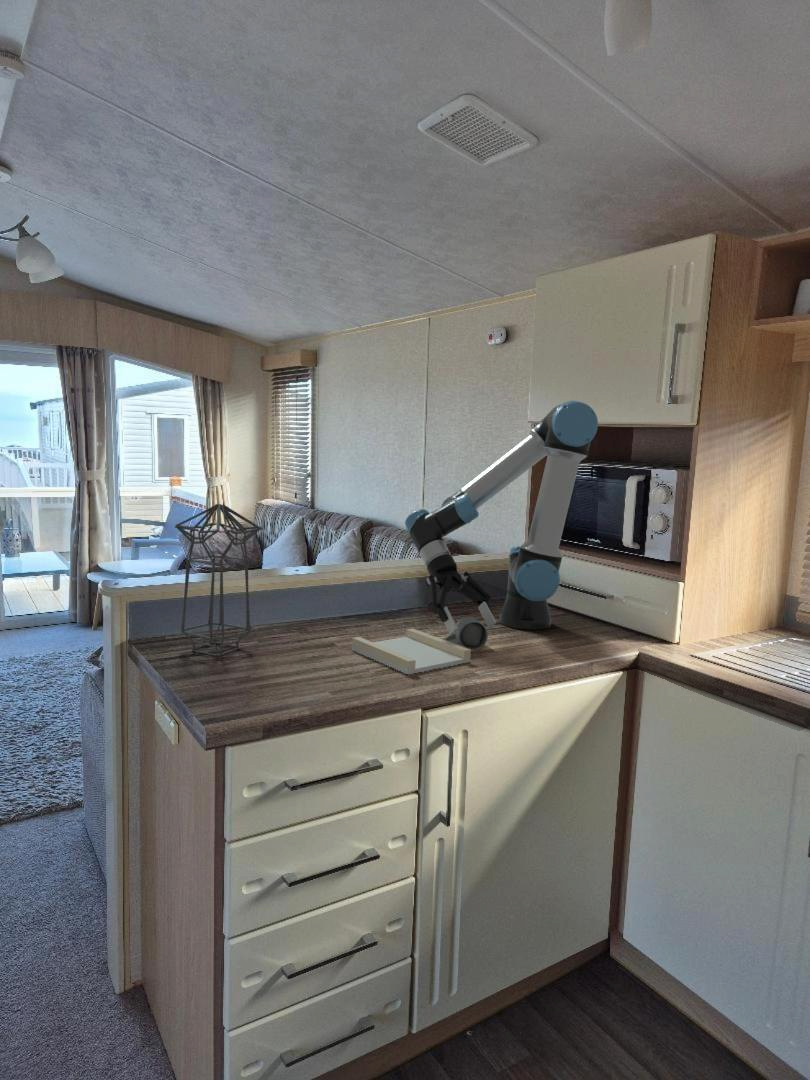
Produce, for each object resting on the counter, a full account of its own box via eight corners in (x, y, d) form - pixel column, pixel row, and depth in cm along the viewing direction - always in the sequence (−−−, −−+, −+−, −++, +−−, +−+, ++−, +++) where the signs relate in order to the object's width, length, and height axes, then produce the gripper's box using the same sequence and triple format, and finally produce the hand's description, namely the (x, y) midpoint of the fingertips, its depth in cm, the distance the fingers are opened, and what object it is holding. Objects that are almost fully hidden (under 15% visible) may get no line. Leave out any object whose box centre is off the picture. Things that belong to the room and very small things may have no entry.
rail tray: (411, 640, 189) (412, 628, 188) (469, 662, 172) (470, 649, 171) (352, 650, 177) (352, 637, 176) (407, 675, 160) (408, 661, 159)
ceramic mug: (479, 642, 190) (480, 613, 189) (487, 651, 182) (488, 621, 181) (440, 642, 189) (441, 613, 188) (446, 651, 181) (447, 621, 180)
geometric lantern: (167, 651, 169) (169, 502, 165) (214, 638, 183) (217, 501, 179) (219, 663, 162) (222, 507, 158) (263, 648, 175) (267, 505, 172)
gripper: (465, 566, 203) (499, 630, 194) (395, 572, 188) (429, 642, 178) (479, 550, 198) (515, 615, 189) (409, 555, 183) (444, 626, 173)
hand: (473, 628), depth 183 cm, fingers open, 13 cm apart
